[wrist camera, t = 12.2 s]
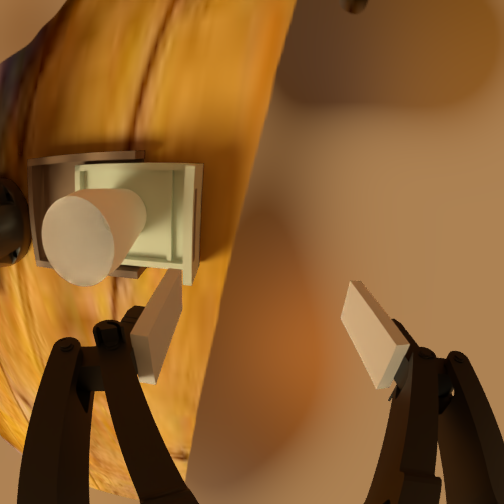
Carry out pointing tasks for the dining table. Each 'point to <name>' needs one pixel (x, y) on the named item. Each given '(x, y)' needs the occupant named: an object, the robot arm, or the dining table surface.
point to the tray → (157, 209)
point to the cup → (92, 233)
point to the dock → (66, 193)
